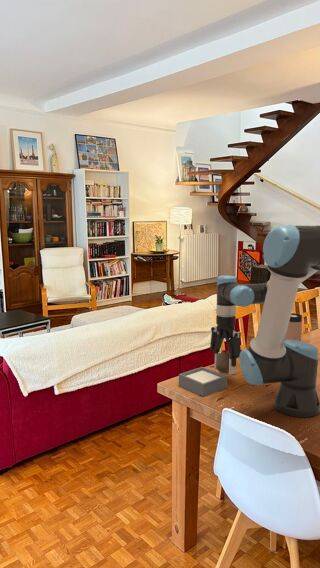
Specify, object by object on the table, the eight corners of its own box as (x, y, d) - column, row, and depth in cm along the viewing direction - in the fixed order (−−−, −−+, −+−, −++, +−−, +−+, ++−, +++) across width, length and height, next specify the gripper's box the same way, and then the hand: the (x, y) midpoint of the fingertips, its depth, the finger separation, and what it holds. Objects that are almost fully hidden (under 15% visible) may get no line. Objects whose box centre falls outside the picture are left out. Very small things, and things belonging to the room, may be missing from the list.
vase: (213, 373, 172) (213, 351, 171) (219, 368, 178) (219, 347, 177) (229, 376, 169) (230, 354, 168) (235, 370, 175) (236, 349, 174)
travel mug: (279, 355, 205) (281, 314, 202) (291, 353, 208) (294, 312, 205) (290, 360, 198) (292, 317, 195) (303, 358, 201) (306, 316, 198)
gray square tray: (226, 387, 166) (227, 376, 166) (203, 396, 158) (203, 384, 157) (202, 377, 176) (202, 366, 175) (178, 385, 168) (178, 374, 167)
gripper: (252, 318, 165) (250, 376, 168) (214, 309, 180) (213, 363, 184) (239, 320, 160) (237, 380, 164) (201, 312, 176) (200, 366, 179)
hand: (224, 371), depth 174 cm, fingers closed on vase, 7 cm apart
